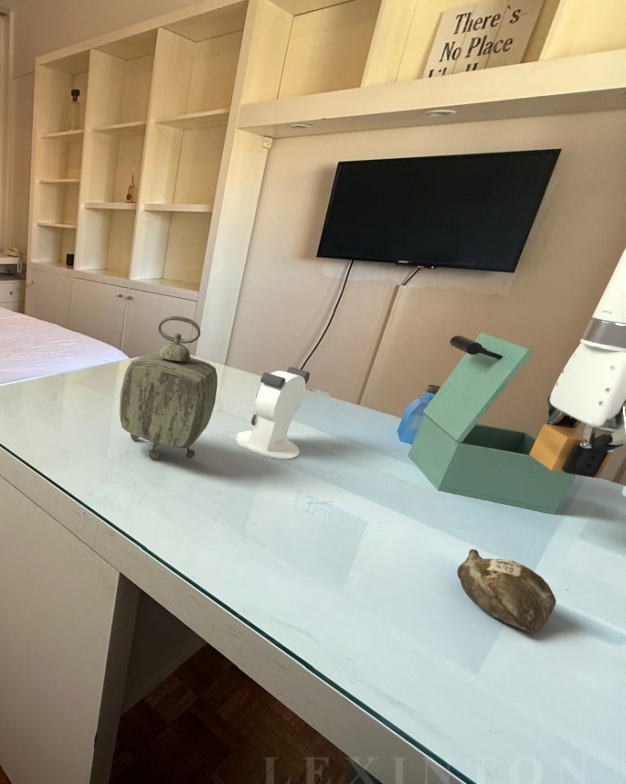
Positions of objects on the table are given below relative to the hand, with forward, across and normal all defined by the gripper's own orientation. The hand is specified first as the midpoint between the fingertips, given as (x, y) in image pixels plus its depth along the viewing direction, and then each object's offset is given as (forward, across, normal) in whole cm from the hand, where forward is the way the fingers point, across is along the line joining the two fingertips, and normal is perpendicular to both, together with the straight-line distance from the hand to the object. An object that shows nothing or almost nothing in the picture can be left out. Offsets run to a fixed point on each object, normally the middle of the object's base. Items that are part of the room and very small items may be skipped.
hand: (563, 463), depth 63 cm
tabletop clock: (+11, -2, +55) cm, 56 cm away
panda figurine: (+11, +13, +35) cm, 39 cm away
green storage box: (+12, +15, +1) cm, 19 cm away
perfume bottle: (+12, +32, +4) cm, 34 cm away
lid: (-6, +15, +6) cm, 17 cm away
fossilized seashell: (+11, -21, +14) cm, 28 cm away
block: (0, 0, 0) cm, 0 cm away
